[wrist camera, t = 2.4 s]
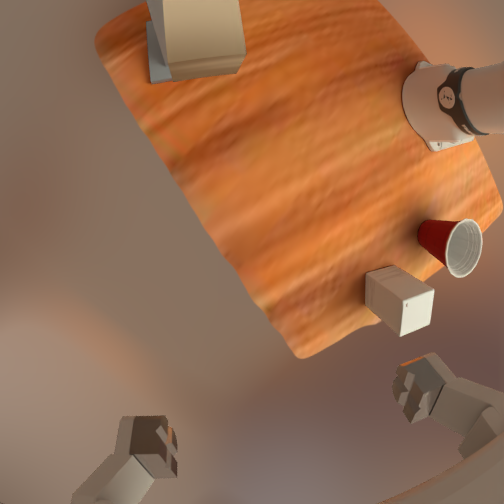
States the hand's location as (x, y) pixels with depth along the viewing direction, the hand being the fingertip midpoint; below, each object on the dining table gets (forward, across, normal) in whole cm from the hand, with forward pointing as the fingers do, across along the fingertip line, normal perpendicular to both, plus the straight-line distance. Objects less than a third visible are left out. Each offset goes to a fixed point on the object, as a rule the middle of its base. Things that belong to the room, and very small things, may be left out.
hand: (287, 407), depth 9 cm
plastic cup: (+41, -39, +14) cm, 59 cm away
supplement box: (+40, -27, +23) cm, 53 cm away
